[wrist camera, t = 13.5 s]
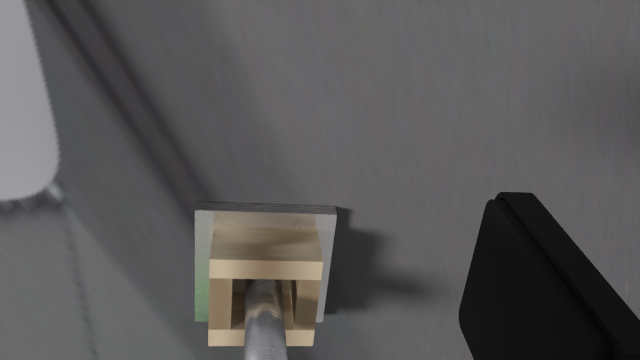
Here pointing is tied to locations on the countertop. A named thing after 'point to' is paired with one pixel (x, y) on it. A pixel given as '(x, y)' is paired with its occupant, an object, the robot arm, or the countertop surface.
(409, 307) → the countertop surface
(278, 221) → the post
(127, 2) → the countertop surface
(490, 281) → the robot arm
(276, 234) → the light brown square frame
